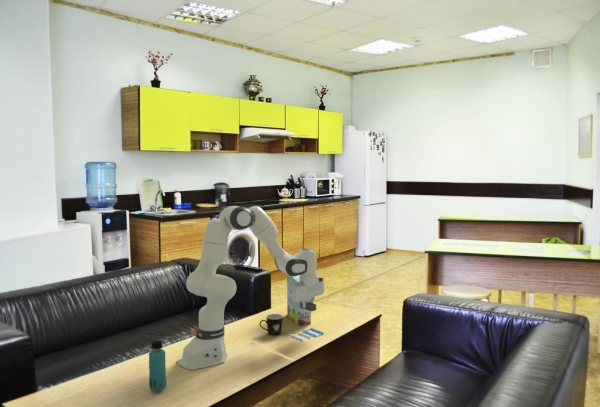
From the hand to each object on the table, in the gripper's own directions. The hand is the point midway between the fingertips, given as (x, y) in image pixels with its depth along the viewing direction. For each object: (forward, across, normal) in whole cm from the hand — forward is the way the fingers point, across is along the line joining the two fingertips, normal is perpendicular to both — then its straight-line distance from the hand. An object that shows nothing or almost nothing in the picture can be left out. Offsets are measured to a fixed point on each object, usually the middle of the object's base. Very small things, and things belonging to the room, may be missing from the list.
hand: (308, 306), depth 241 cm
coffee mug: (+16, -13, +14) cm, 25 cm away
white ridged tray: (+16, -1, 0) cm, 16 cm away
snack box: (+17, +13, +22) cm, 30 cm away
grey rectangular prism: (+1, 0, 0) cm, 1 cm away
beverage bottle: (+14, -84, -3) cm, 85 cm away
